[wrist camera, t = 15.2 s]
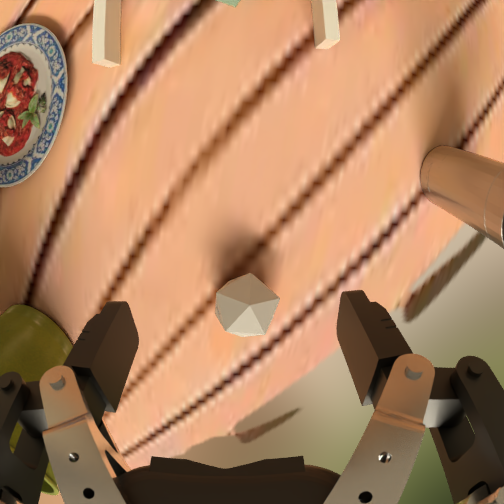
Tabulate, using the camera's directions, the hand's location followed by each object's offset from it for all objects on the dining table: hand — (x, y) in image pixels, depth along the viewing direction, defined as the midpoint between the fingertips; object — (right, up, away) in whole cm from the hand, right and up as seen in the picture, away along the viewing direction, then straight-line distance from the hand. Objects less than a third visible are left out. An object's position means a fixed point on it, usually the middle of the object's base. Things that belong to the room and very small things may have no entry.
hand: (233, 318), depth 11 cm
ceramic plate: (-36, +25, +18) cm, 47 cm away
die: (0, -3, +33) cm, 33 cm away
